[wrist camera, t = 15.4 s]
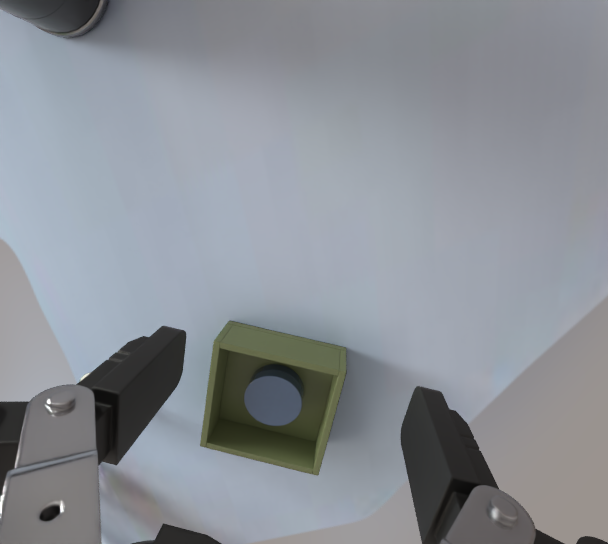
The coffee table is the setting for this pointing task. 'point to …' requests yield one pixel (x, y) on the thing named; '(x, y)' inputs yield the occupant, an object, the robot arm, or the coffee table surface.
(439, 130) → the coffee table surface
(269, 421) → the blue round puck
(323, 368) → the tub
